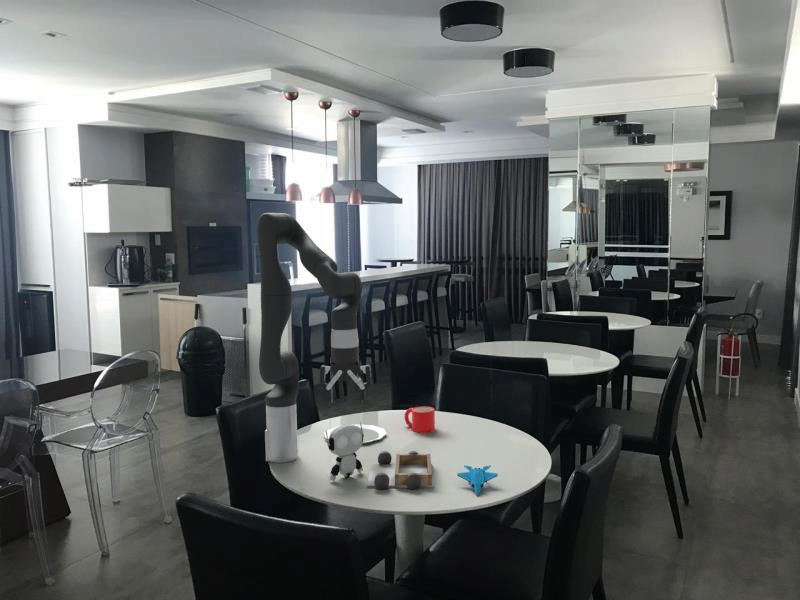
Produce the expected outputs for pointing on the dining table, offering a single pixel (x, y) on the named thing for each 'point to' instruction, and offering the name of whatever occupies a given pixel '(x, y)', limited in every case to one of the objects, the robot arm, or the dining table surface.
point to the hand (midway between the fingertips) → (346, 402)
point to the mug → (421, 419)
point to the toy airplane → (477, 477)
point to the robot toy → (345, 449)
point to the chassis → (401, 471)
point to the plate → (369, 427)
